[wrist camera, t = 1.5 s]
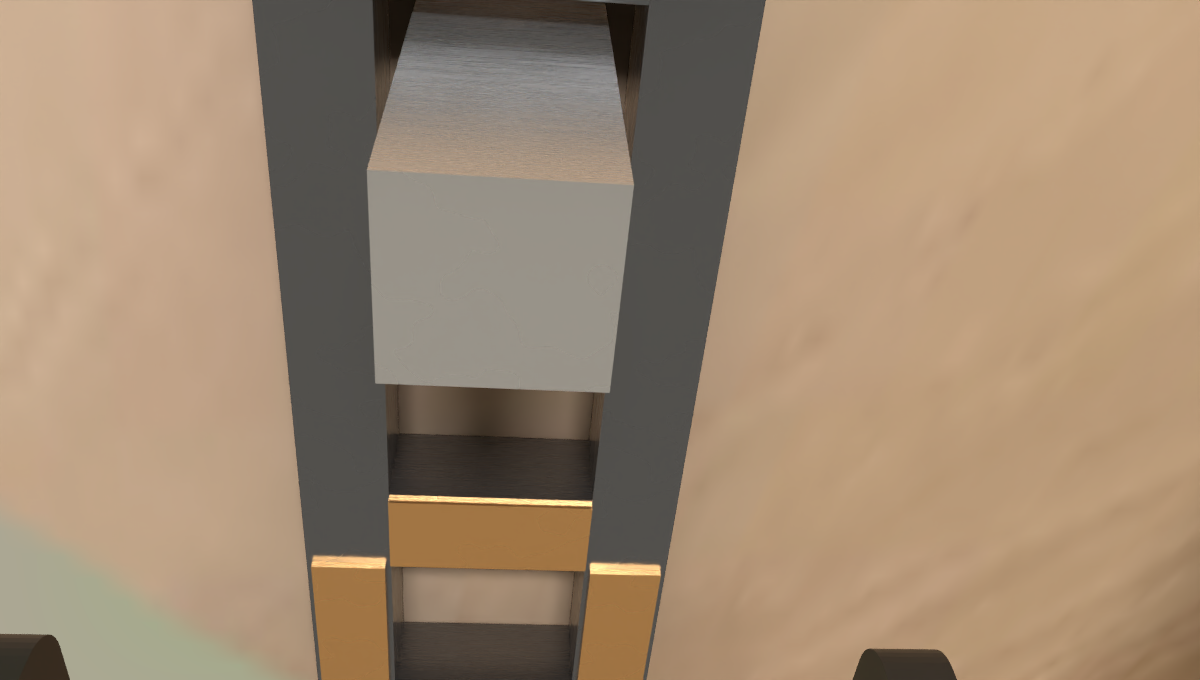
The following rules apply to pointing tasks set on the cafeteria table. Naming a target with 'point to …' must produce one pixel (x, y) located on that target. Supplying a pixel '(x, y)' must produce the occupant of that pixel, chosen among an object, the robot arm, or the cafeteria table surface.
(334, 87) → the slotted rack
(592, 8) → the steel block
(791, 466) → the cafeteria table surface
